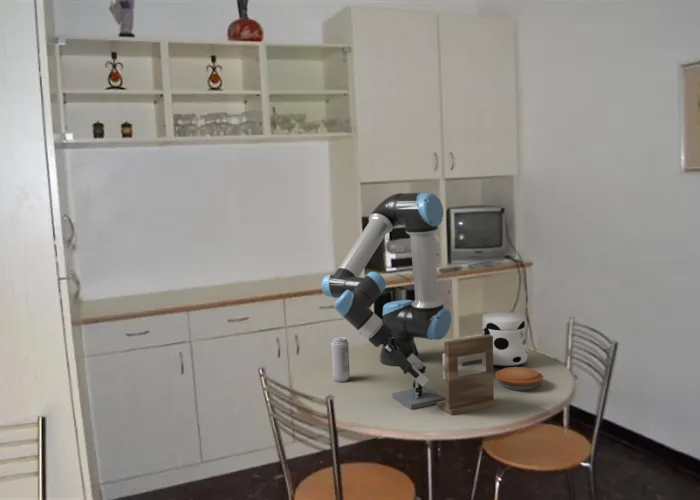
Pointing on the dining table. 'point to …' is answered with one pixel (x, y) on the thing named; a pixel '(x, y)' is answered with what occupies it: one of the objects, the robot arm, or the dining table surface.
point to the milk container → (506, 338)
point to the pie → (519, 378)
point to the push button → (416, 385)
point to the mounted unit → (468, 374)
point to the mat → (422, 401)
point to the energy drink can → (340, 359)
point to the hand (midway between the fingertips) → (424, 376)
